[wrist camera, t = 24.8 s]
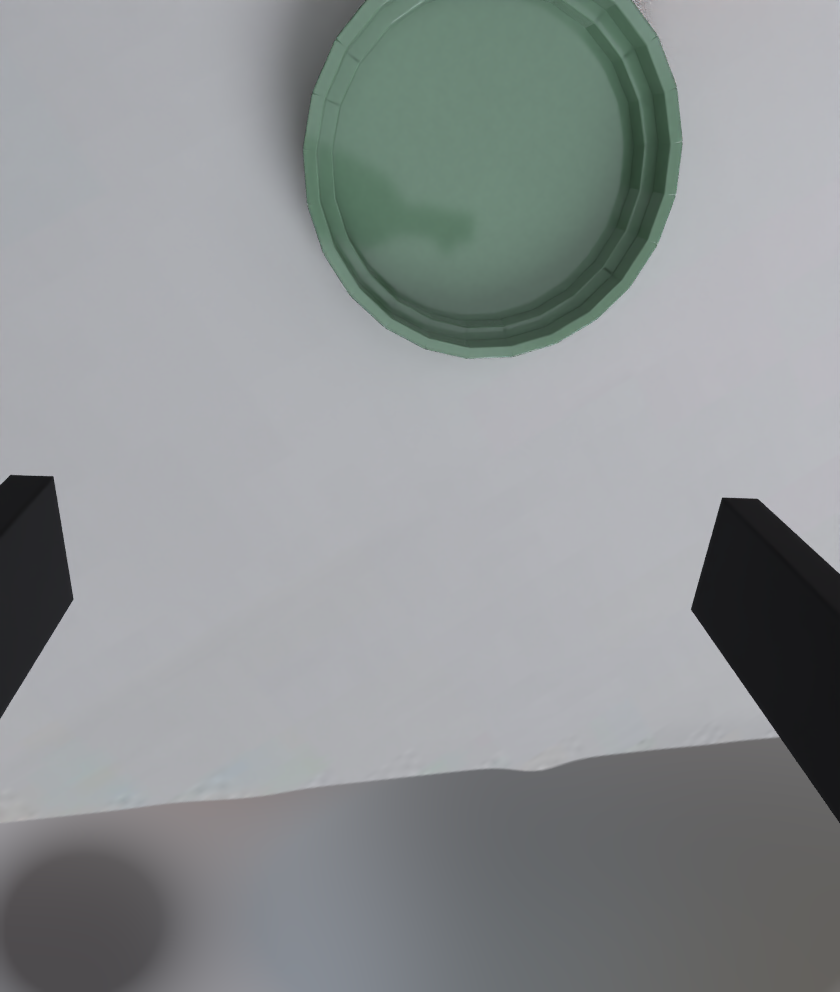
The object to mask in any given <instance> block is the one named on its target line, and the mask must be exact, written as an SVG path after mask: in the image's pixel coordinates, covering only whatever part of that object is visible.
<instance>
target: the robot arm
mask: <svg viewBox="0 0 840 992" xmlns="http://www.w3.org/2000/svg"><path fill="white" fill-rule="evenodd" d="M72 601H73V594H72V587H71V581H70V575H69V569H68V563H67V557H66V551H65V545H64V538H63V532H62V526H61V520H60V514H59V508H58V502H57V496H56V490H55V483H54V477H53V476H23V475H10V476H9V477H8V478H7V479H6V480H5V481H4V482H3V483H2V484H1V485H0V718H1V717H2V715H3V713H4V712H5V710H6V708H7V707H8V705H9V703H10V702H11V700H12V699H13V697H14V695H15V694H16V692H17V690H18V689H19V687H20V686H21V684H22V682H23V681H24V679H25V677H26V676H27V674H28V673H29V671H30V669H31V668H32V666H33V664H34V663H35V661H36V659H37V658H38V656H39V655H40V653H41V651H42V650H43V648H44V646H45V645H46V643H47V642H48V640H49V638H50V637H51V635H52V633H53V632H54V630H55V629H56V627H57V625H58V624H59V622H60V620H61V619H62V617H63V616H64V614H65V612H66V611H67V609H68V607H69V606H70V604H71V602H72ZM691 610H692V612H693V613H694V614H695V616H696V617H697V619H698V620H699V622H700V623H701V624H702V626H703V627H704V629H705V630H706V632H707V633H708V635H709V636H710V637H711V639H712V640H713V642H714V643H715V645H716V646H717V647H718V649H719V650H720V652H721V653H722V655H723V656H724V658H725V659H726V660H727V662H728V663H729V665H730V666H731V668H732V669H733V670H734V672H735V673H736V675H737V676H738V678H739V679H740V680H741V682H742V683H743V685H744V686H745V688H746V689H747V691H748V692H749V693H750V695H751V696H752V698H753V699H754V701H755V702H756V703H757V705H758V706H759V708H760V709H761V711H762V712H763V714H764V715H765V716H766V718H767V719H768V721H769V722H770V724H771V725H772V726H773V728H774V729H775V731H776V732H777V734H778V735H779V737H780V738H781V739H782V741H783V742H784V744H785V745H786V746H787V748H788V749H789V751H790V752H791V754H792V755H793V757H794V758H795V759H796V761H797V762H798V764H799V765H800V767H801V768H802V770H803V771H804V772H805V773H806V775H807V776H808V778H809V780H810V781H811V782H812V784H813V785H814V787H815V788H816V790H817V791H818V793H819V794H820V795H821V797H822V798H823V800H824V801H825V802H826V804H827V805H828V807H829V808H830V810H831V811H832V813H833V814H834V815H835V817H836V818H837V820H838V821H839V823H840V574H839V573H838V572H837V571H836V570H835V569H834V568H832V567H831V566H830V565H829V564H828V563H827V562H826V561H825V560H824V559H823V558H822V557H821V556H819V555H818V554H817V553H816V552H815V551H814V550H813V549H812V548H811V547H810V546H809V545H807V544H806V543H805V542H804V541H803V540H802V539H801V538H800V537H799V536H798V535H797V534H795V533H794V532H793V531H792V530H791V529H790V528H789V527H788V526H787V525H786V524H785V523H783V522H782V521H781V520H780V519H779V518H778V517H777V516H776V515H775V514H774V513H773V512H772V511H770V510H769V509H768V508H767V507H766V506H765V505H764V504H763V503H762V502H761V501H760V500H758V499H747V498H722V500H721V504H720V507H719V511H718V514H717V518H716V522H715V525H714V529H713V532H712V536H711V540H710V543H709V547H708V550H707V554H706V557H705V561H704V565H703V568H702V572H701V575H700V579H699V582H698V586H697V590H696V593H695V597H694V600H693V604H692V607H691Z"/></svg>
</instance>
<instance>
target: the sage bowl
mask: <svg viewBox="0 0 840 992" xmlns="http://www.w3.org/2000/svg"><path fill="white" fill-rule="evenodd" d="M303 149H304V150H303V161H304V173H305V186H306V198H307V204H308V209H309V212H310V215H311V218H312V221H313V224H314V227H315V230H316V233H317V236H318V239H319V242H320V245H321V248H322V251H323V253H324V256H325V257H326V259H327V260H328V262H329V263H330V265H331V267H332V268H333V270H334V271H335V273H336V274H337V276H338V278H339V279H340V281H341V282H342V284H343V285H344V287H345V289H346V290H347V292H348V293H349V295H351V297H352V298H353V299H354V300H355V301H356V302H357V303H359V304H360V305H361V306H362V307H363V308H364V309H365V310H366V311H367V312H368V313H369V314H370V315H371V316H373V317H374V318H375V319H376V320H377V321H378V322H379V323H380V324H381V325H382V326H383V327H385V328H386V329H388V330H390V331H392V332H394V333H395V334H397V335H399V336H401V337H403V338H405V339H407V340H409V341H411V342H412V343H414V344H416V345H418V346H420V347H422V348H425V349H427V350H431V351H435V352H440V353H444V354H449V355H453V356H457V357H462V358H466V359H477V358H504V357H514V356H518V355H521V354H524V353H528V352H531V351H534V350H538V349H541V348H544V347H548V346H551V345H554V344H556V343H558V342H560V341H562V340H563V339H565V338H567V337H568V336H570V335H572V334H573V333H575V332H577V331H578V330H580V329H582V328H584V327H585V326H587V325H589V324H590V323H592V322H594V321H595V320H597V319H598V318H599V317H600V316H601V315H602V314H603V313H604V312H605V311H606V310H607V309H608V308H609V307H610V306H611V305H612V304H613V303H614V302H615V301H616V300H617V299H618V298H619V297H620V296H621V295H622V294H623V293H625V292H626V291H627V290H628V289H629V288H630V286H631V285H632V283H633V282H634V280H635V279H636V277H637V276H638V274H639V273H640V271H641V269H642V268H643V266H644V265H645V263H646V262H647V260H648V259H649V257H650V256H651V254H652V253H653V251H654V249H655V248H656V246H657V244H658V242H659V240H660V237H661V234H662V232H663V229H664V226H665V223H666V221H667V218H668V215H669V213H670V210H671V207H672V204H673V202H674V199H675V195H676V190H677V182H678V175H679V167H680V159H681V151H682V130H681V121H680V112H679V103H678V93H677V88H676V83H675V80H674V78H673V75H672V72H671V70H670V67H669V64H668V62H667V59H666V56H665V54H664V51H663V48H662V46H661V43H660V40H659V38H658V36H657V34H656V33H655V31H654V30H653V28H652V27H651V26H650V24H649V23H648V22H647V20H646V19H645V18H644V16H643V15H642V13H641V12H640V11H639V9H638V8H637V7H636V5H635V4H634V2H633V1H632V0H365V2H364V3H363V4H362V6H361V7H360V8H359V9H358V11H357V12H356V13H355V14H354V16H353V17H352V18H351V19H350V21H349V22H348V23H347V25H346V26H345V27H344V28H343V30H342V31H341V32H340V33H339V35H338V36H337V37H336V40H335V41H334V43H333V45H332V47H331V50H330V52H329V54H328V57H327V59H326V61H325V64H324V66H323V68H322V70H321V73H320V75H319V77H318V80H317V82H316V84H315V87H314V89H313V93H312V95H311V101H310V107H309V113H308V119H307V125H306V131H305V138H304V144H303Z"/></svg>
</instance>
